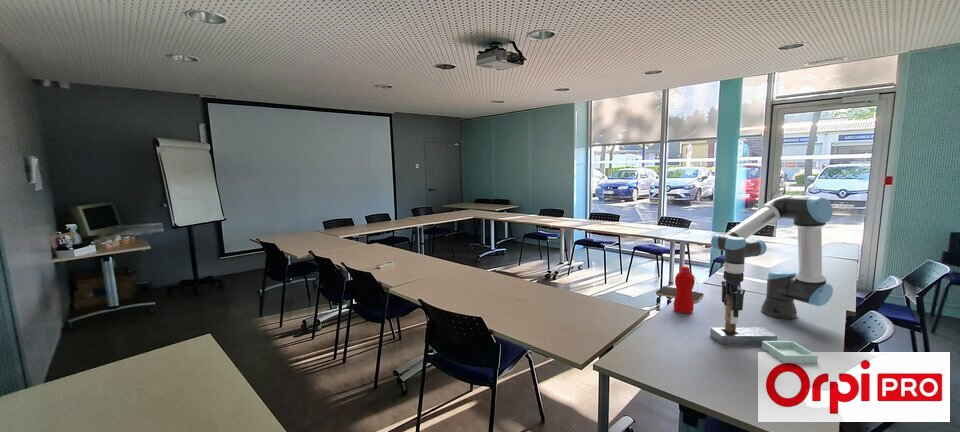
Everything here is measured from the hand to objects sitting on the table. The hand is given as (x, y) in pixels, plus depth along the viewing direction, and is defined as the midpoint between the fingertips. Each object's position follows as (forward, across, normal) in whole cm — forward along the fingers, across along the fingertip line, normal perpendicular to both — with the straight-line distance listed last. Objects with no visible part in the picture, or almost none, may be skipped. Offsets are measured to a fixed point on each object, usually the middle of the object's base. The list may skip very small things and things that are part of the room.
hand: (730, 321), depth 174 cm
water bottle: (+9, -35, -3) cm, 36 cm away
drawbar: (+9, 0, +6) cm, 11 cm away
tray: (+9, +14, +16) cm, 23 cm away
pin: (+5, 0, 0) cm, 5 cm away
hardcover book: (+10, -61, +6) cm, 62 cm away
